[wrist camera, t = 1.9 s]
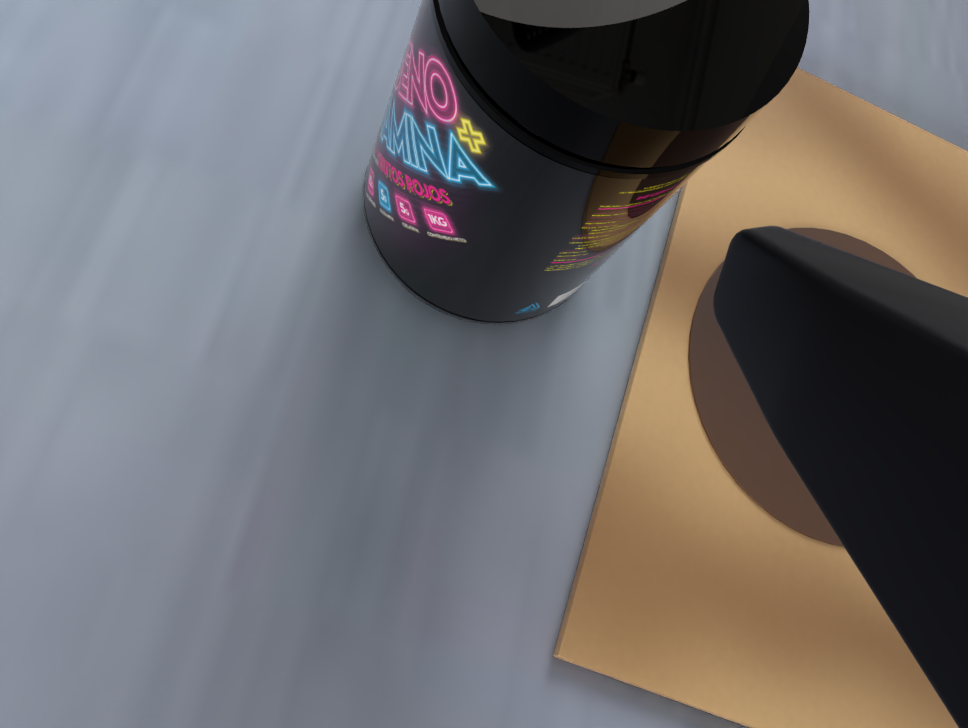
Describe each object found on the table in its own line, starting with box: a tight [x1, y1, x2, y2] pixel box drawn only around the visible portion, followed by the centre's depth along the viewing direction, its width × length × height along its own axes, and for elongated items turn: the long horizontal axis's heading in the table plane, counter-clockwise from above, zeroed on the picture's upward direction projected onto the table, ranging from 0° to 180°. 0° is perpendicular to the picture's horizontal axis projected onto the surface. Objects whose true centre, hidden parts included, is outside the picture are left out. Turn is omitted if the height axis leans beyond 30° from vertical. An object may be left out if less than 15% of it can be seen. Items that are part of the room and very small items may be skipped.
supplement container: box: [363, 0, 809, 324], centre depth 21 cm, size 7×7×10 cm
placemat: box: [554, 68, 968, 728], centre depth 27 cm, size 20×12×1 cm, turn 162°
